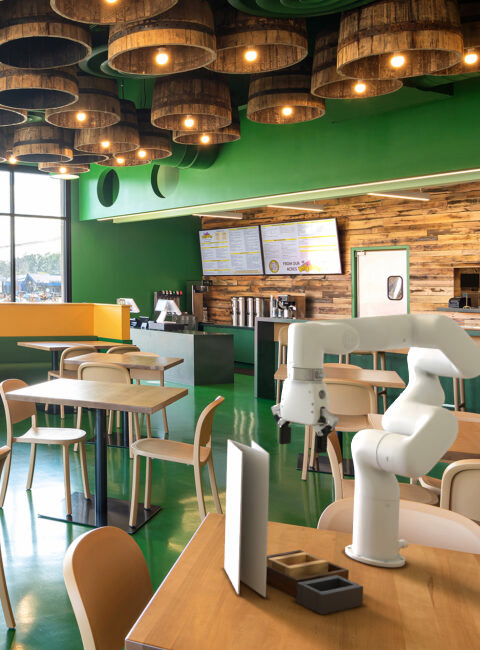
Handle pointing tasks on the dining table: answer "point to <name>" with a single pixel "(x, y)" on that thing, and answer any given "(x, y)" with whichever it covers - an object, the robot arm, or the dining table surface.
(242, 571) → the brochure
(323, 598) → the frame low
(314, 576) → the holder
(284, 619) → the dining table surface
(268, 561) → the frame top
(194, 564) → the dining table surface
